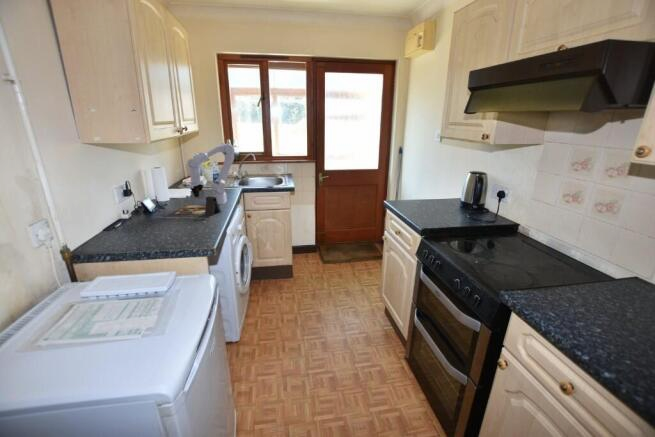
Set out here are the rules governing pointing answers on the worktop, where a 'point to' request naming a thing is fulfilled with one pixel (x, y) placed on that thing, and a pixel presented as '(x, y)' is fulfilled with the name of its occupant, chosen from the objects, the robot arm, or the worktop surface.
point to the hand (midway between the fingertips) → (198, 196)
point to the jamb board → (192, 210)
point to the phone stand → (211, 206)
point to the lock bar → (200, 194)
